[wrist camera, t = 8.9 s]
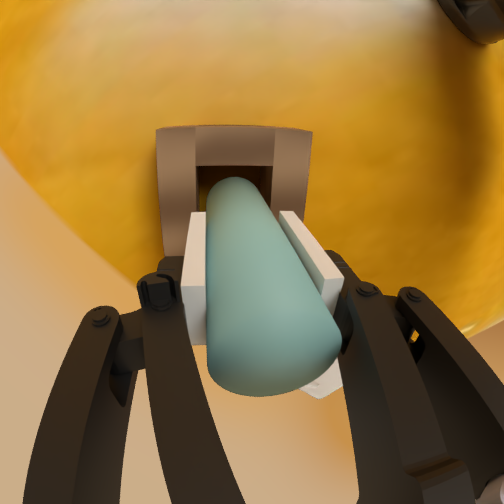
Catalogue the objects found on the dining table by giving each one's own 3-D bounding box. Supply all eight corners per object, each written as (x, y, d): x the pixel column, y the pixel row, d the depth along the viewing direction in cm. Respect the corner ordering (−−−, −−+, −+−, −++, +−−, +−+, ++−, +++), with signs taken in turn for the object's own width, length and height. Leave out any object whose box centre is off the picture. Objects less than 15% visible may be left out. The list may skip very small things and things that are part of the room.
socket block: (167, 126, 21) (155, 129, 16) (292, 128, 22) (312, 131, 18) (172, 241, 26) (166, 268, 21) (283, 238, 27) (297, 264, 23)
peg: (205, 177, 18) (202, 314, 6) (262, 177, 19) (357, 302, 7) (206, 229, 20) (211, 400, 8) (259, 228, 21) (324, 387, 9)
